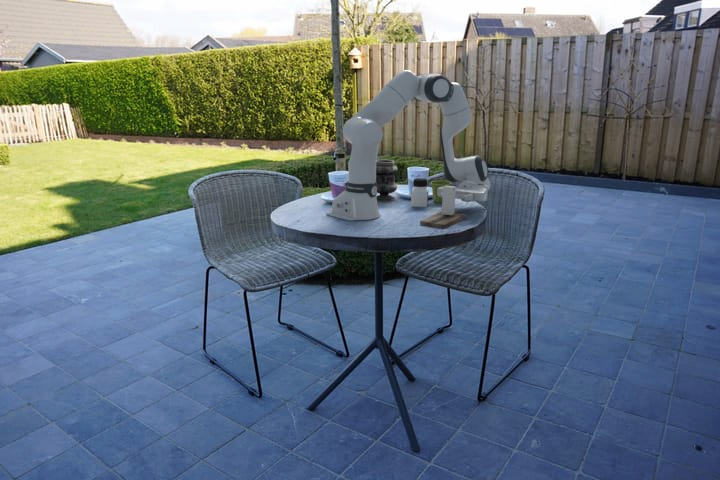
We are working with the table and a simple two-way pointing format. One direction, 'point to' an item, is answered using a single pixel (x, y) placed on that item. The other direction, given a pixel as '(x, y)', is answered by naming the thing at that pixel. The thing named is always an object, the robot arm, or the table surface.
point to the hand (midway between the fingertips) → (453, 197)
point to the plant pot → (435, 186)
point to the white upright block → (448, 200)
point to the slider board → (442, 220)
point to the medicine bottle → (419, 193)
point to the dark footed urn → (385, 179)
